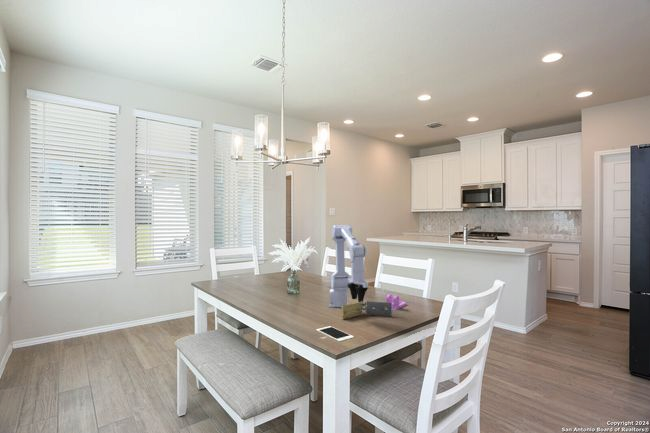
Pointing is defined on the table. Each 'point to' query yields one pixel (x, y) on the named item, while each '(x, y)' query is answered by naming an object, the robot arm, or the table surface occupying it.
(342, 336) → the cell phone
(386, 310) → the dark grey piece
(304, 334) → the table surface
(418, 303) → the table surface
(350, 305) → the brass leaf
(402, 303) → the bracket
